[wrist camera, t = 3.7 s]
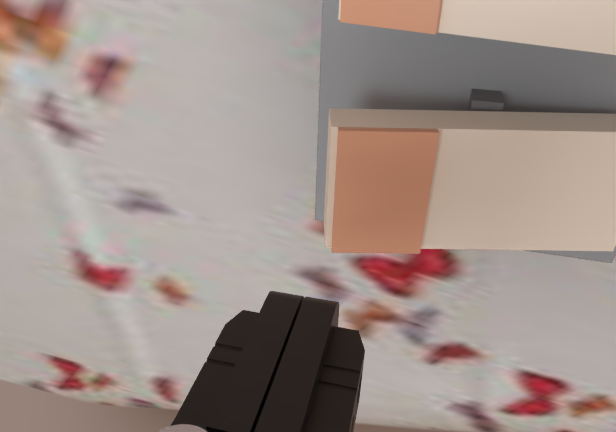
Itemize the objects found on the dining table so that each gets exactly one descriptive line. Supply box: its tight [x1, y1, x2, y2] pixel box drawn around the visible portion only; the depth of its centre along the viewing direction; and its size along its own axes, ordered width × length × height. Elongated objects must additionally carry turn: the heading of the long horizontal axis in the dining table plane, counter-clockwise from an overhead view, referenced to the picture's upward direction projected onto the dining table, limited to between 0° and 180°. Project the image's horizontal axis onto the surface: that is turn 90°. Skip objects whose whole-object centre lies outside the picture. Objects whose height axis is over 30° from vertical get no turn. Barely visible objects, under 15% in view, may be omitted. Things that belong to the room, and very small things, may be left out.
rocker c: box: [324, 108, 616, 254], centre depth 18 cm, size 10×4×2 cm, turn 89°
